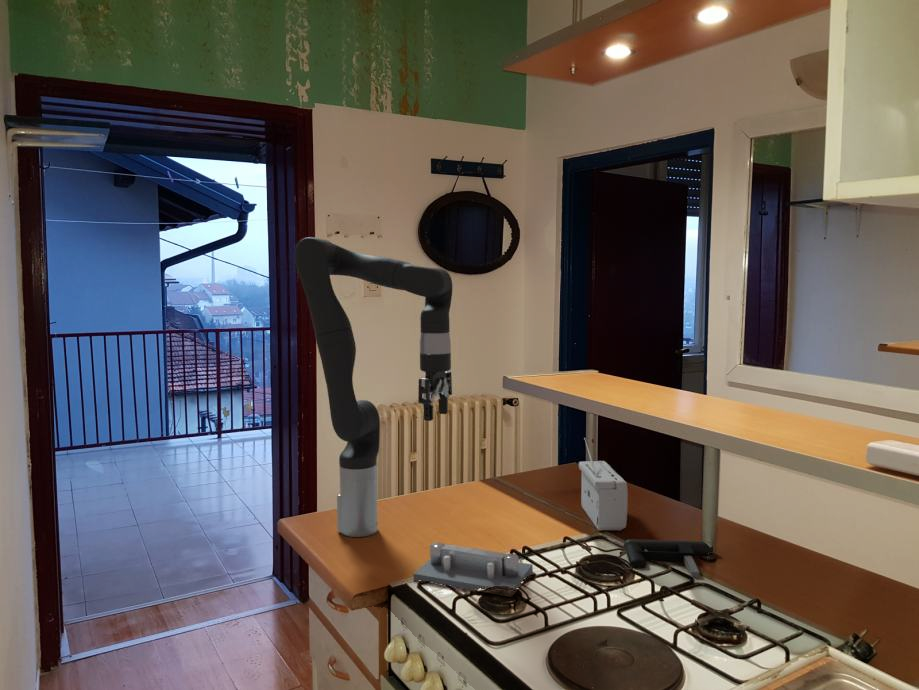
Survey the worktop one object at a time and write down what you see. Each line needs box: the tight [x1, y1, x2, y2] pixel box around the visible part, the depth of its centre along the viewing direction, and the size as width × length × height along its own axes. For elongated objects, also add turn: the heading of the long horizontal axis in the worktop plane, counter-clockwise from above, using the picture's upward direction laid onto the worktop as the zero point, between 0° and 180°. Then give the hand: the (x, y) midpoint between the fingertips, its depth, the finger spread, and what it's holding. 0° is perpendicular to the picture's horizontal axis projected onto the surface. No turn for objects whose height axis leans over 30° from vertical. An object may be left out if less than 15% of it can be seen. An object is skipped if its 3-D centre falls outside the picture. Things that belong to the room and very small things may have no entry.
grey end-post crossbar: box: [429, 542, 520, 578], centre depth 151 cm, size 20×3×4 cm, turn 67°
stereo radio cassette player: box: [578, 437, 629, 532], centre depth 185 cm, size 21×8×20 cm, turn 3°
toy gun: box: [623, 538, 714, 579], centre depth 157 cm, size 3×20×16 cm
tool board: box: [412, 556, 534, 592], centre depth 151 cm, size 22×14×4 cm, turn 67°
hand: (436, 417), depth 171 cm, fingers open, 8 cm apart
